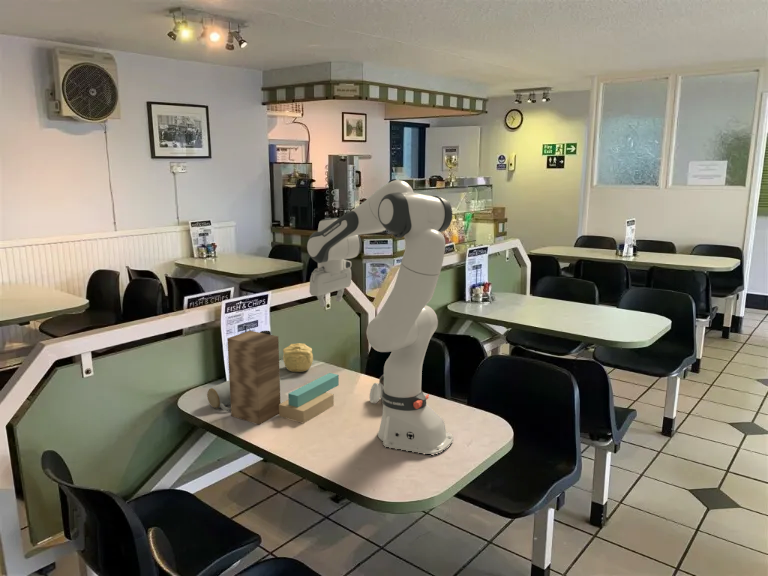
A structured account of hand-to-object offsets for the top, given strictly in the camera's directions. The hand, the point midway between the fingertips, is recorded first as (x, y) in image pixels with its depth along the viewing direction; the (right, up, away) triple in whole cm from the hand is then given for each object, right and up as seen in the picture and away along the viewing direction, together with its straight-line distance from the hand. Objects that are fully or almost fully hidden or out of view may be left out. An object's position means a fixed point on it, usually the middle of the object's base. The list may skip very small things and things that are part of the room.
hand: (331, 303), depth 205 cm
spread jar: (+20, -34, -6) cm, 40 cm away
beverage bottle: (-24, -30, +9) cm, 40 cm away
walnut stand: (-23, -35, -17) cm, 45 cm away
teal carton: (-4, -30, -11) cm, 32 cm away
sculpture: (-15, -27, +24) cm, 39 cm away
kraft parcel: (-7, -35, -13) cm, 38 cm away
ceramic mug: (-34, -34, -10) cm, 49 cm away
